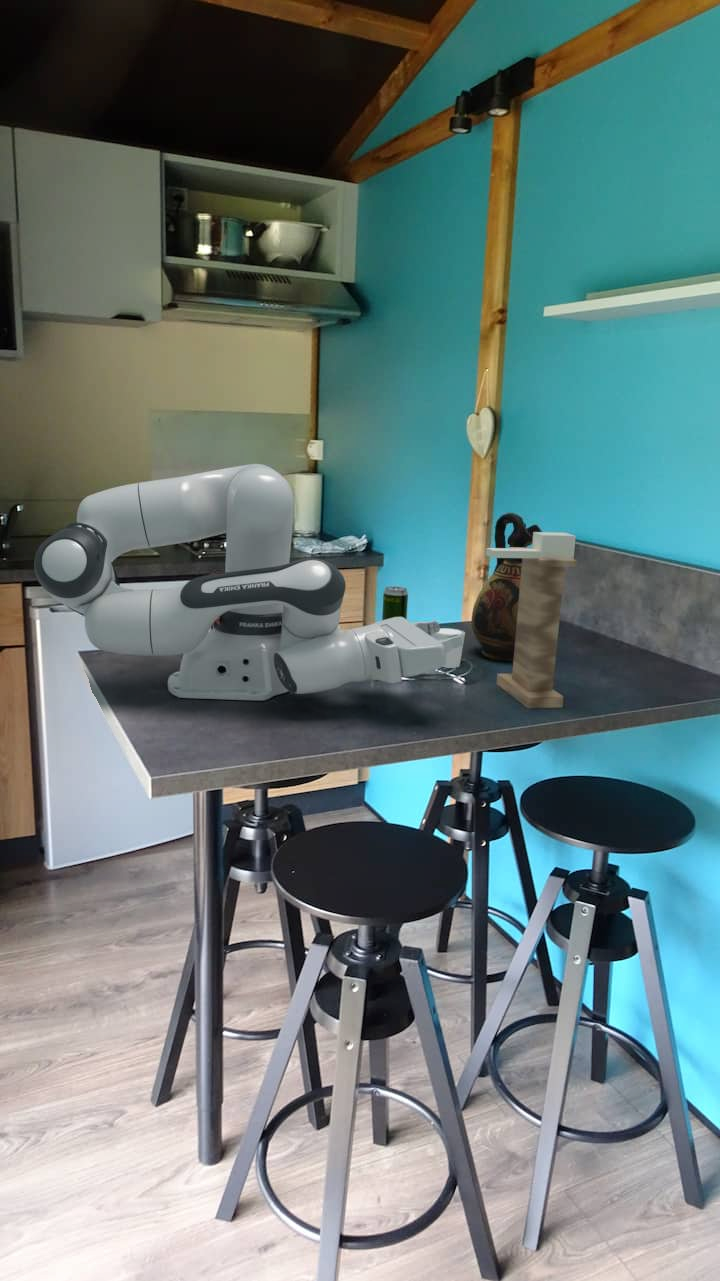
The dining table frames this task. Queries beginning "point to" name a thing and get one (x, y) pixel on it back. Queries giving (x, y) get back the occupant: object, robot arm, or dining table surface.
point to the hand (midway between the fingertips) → (448, 632)
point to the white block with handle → (540, 547)
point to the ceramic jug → (502, 594)
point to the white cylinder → (455, 654)
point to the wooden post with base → (537, 633)
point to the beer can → (395, 602)
